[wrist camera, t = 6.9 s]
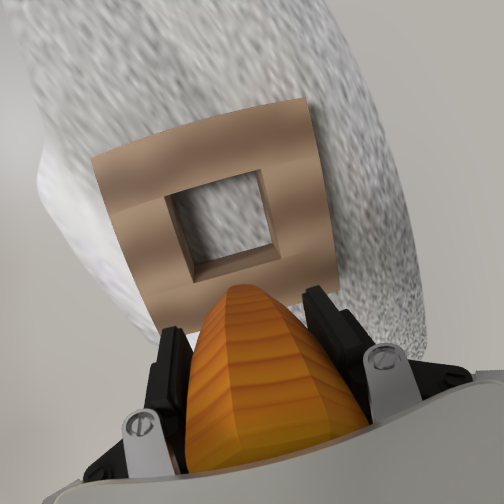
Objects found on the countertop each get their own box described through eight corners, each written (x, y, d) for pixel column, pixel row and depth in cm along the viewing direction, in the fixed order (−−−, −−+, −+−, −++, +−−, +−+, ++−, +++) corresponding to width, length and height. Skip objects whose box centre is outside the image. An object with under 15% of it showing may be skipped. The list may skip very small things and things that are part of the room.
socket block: (105, 155, 25) (90, 158, 21) (292, 102, 26) (305, 97, 22) (166, 318, 32) (162, 340, 28) (325, 272, 32) (340, 289, 29)
